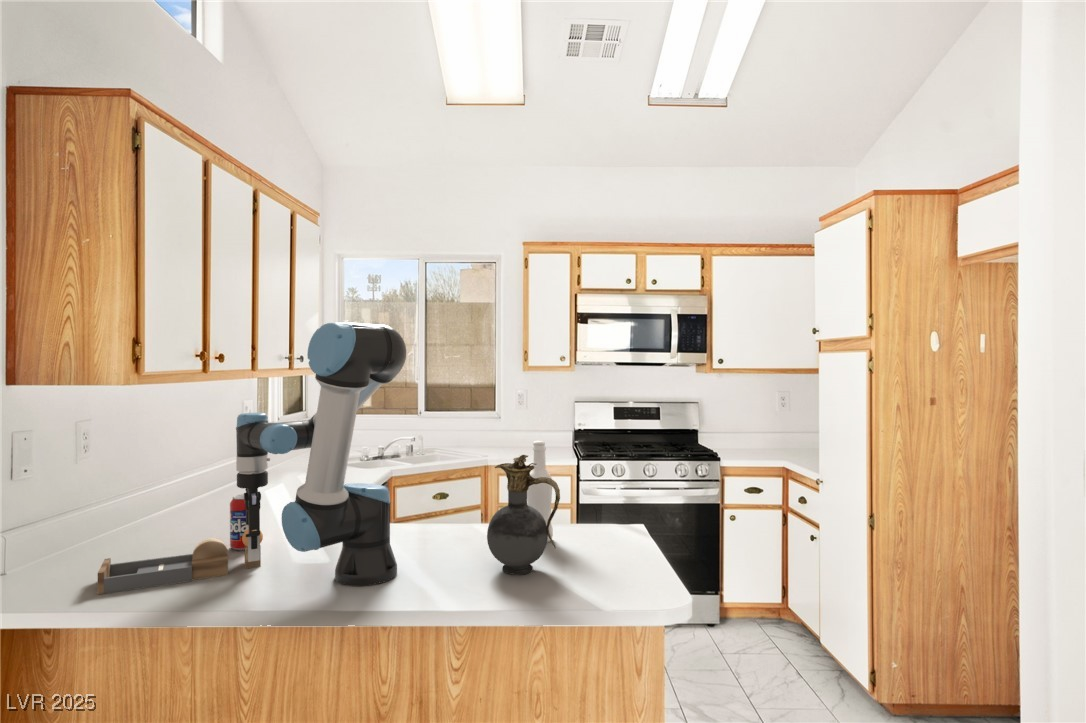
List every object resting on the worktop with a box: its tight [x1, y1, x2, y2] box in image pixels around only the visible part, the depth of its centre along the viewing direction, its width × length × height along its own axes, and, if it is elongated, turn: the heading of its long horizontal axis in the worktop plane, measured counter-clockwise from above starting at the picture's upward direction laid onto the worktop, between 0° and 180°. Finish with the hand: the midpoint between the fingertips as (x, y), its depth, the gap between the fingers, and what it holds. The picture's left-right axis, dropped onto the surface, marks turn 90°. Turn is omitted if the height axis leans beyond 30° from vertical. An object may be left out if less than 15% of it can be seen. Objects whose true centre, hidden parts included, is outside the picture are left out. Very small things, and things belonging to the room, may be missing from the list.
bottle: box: [527, 440, 554, 544], centre depth 191 cm, size 8×8×30 cm
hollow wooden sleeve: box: [244, 545, 262, 569], centre depth 168 cm, size 4×4×5 cm
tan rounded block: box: [192, 537, 229, 581], centre depth 163 cm, size 10×8×8 cm
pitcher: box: [486, 454, 561, 575], centre depth 164 cm, size 11×19×30 cm, turn 76°
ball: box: [242, 529, 264, 547], centre depth 168 cm, size 5×5×5 cm
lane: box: [103, 553, 193, 595], centre depth 157 cm, size 12×18×4 cm, turn 118°
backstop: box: [97, 557, 112, 595], centre depth 153 cm, size 12×1×5 cm, turn 28°
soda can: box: [229, 493, 261, 551], centre depth 184 cm, size 8×8×15 cm
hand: (252, 554), depth 168 cm, fingers open, 10 cm apart
